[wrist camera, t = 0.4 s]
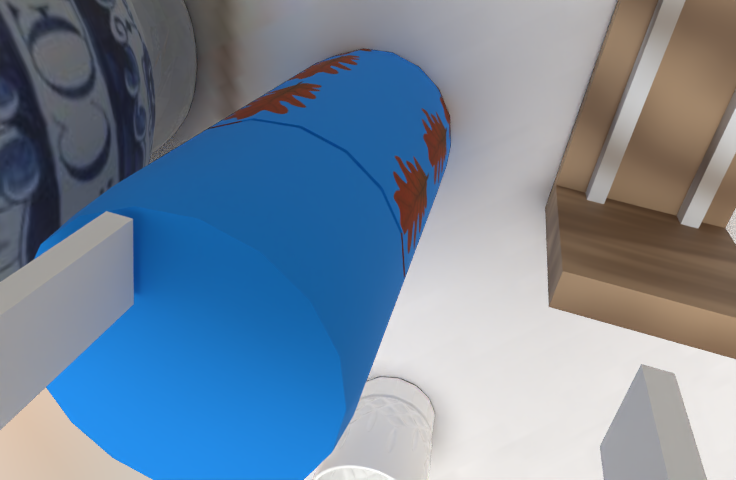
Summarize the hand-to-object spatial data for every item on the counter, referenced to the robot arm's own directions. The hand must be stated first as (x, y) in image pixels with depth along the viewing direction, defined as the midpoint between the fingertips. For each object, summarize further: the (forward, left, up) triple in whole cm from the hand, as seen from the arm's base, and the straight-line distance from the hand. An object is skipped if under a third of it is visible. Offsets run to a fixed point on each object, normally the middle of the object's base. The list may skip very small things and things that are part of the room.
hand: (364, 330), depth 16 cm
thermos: (+4, -5, -26) cm, 26 cm away
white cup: (+26, +1, -26) cm, 36 cm away
